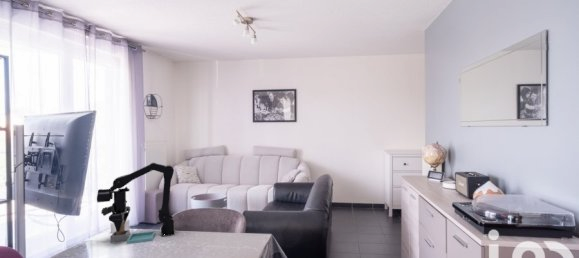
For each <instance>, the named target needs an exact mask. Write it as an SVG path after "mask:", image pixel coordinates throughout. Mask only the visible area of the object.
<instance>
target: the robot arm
mask: <svg viewBox="0 0 579 258" xmlns="http://www.w3.org/2000/svg"><path fill="white" fill-rule="evenodd" d="M152 171H156V172H159V173H162V174H163V187H162V188H163V189H162V190H163V191H162V200H161V201H162V202H161V207H158V211H157V212H158V213H157V218H158V220H159V222H161V223H162V224H161V226H160V230H161V232H160V234H161V237H164V236H163V235H164V234H165V235H167V236H172V235H171V234H174V235H175V233H174V232H176V230H175V219H174V217H173V216H172V215H171V214H170V195H171V183H172V179H173V177H174V176H173V175H174V172H175V169H174V167H173V166H172V165H171V164H167V165H165V164H159V163H156V162H151V163H150V164H148V165H146V166H143V167H141V168H139V169H137V170H135V171H133V172H131V173H128V174H124V175H121V176H118V177H116V178H114V180H113V182H112V185H111V187H110V188H105V189H102V188H99V189H98V190H97V196H96V203H106V202H111V200H113V203H112V204H111V205H110V206H105V207H103V208H102V209H101V211H100V213H101V214H102V215H103V217H105V216H107V215H108V214H110V215H109V216H108V222H113V223H114V225H115V227H116V230H117V232H118V231H120V228H121V225H122V222H123V220H124V224H125V222H126V220H127V219H128V217H129V214H130V211H131V207H130V206H129V205H127V203H128V201H127V194H126V193H127V192H130V191H131V190H130V188H128V186H126V185H128V184H129V183H130V182H132V181H133V180H135V179H137V178H140V177H142V176H144V175H146V174H148V173H149V172H152ZM117 189H118V190H117Z"/></svg>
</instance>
